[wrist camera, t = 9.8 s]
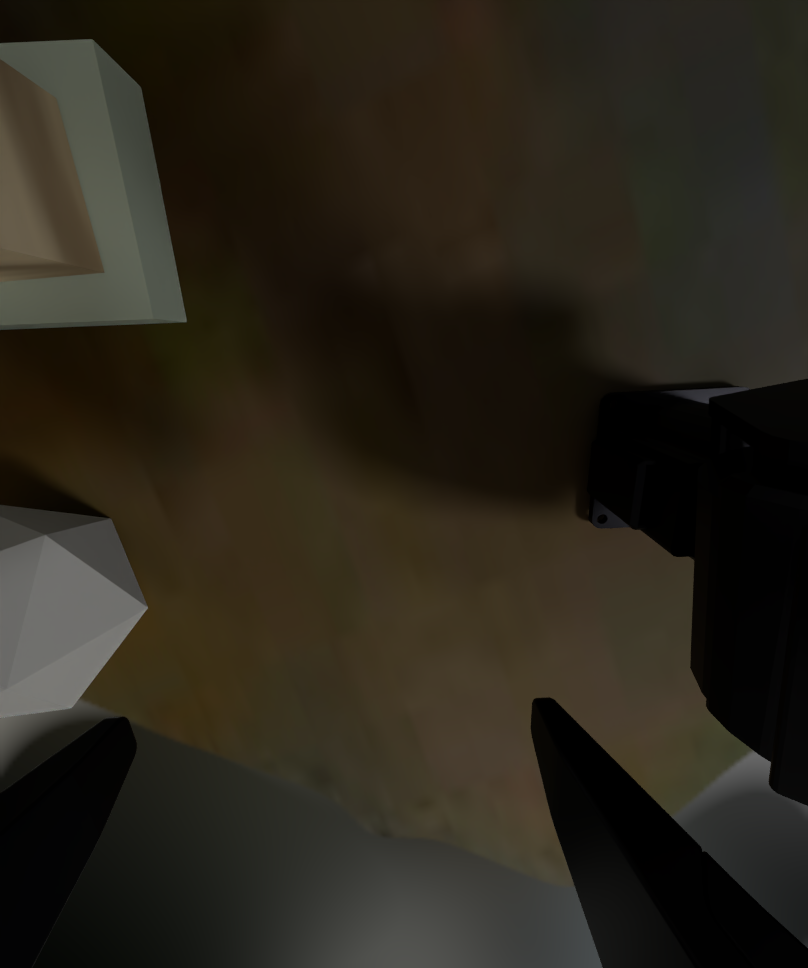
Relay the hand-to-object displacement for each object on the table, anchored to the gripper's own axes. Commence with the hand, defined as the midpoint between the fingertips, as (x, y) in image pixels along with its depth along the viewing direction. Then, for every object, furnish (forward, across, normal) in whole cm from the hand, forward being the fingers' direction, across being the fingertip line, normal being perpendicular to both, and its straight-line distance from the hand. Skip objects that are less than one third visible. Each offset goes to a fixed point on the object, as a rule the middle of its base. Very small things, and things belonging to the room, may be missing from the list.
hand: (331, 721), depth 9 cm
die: (+12, +15, +2) cm, 20 cm away
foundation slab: (+12, +11, -13) cm, 21 cm away
